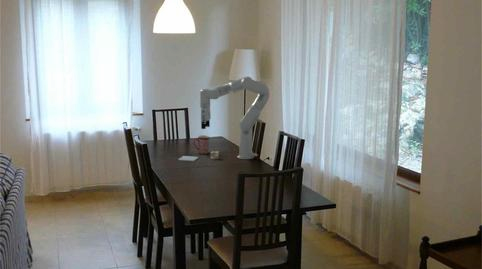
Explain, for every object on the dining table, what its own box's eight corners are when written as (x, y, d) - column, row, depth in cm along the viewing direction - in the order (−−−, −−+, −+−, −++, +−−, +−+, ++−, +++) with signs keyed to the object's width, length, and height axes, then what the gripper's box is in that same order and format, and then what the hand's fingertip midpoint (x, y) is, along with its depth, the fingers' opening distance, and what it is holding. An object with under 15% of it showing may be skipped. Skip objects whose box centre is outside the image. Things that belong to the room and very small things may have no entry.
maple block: (218, 157, 398) (218, 151, 397) (217, 159, 393) (217, 152, 392) (212, 157, 399) (212, 151, 398) (210, 158, 394) (210, 152, 393)
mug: (209, 151, 418) (209, 135, 415) (209, 154, 409) (209, 137, 406) (193, 151, 416) (193, 135, 414) (193, 154, 407) (193, 137, 405)
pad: (198, 157, 396) (198, 156, 395) (193, 161, 384) (193, 160, 384) (183, 156, 398) (183, 155, 398) (178, 160, 387) (178, 159, 387)
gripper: (206, 107, 384) (206, 129, 388) (213, 104, 401) (213, 126, 404) (196, 106, 386) (197, 129, 389) (204, 103, 403) (204, 125, 406)
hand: (205, 127), depth 397 cm, fingers open, 9 cm apart
